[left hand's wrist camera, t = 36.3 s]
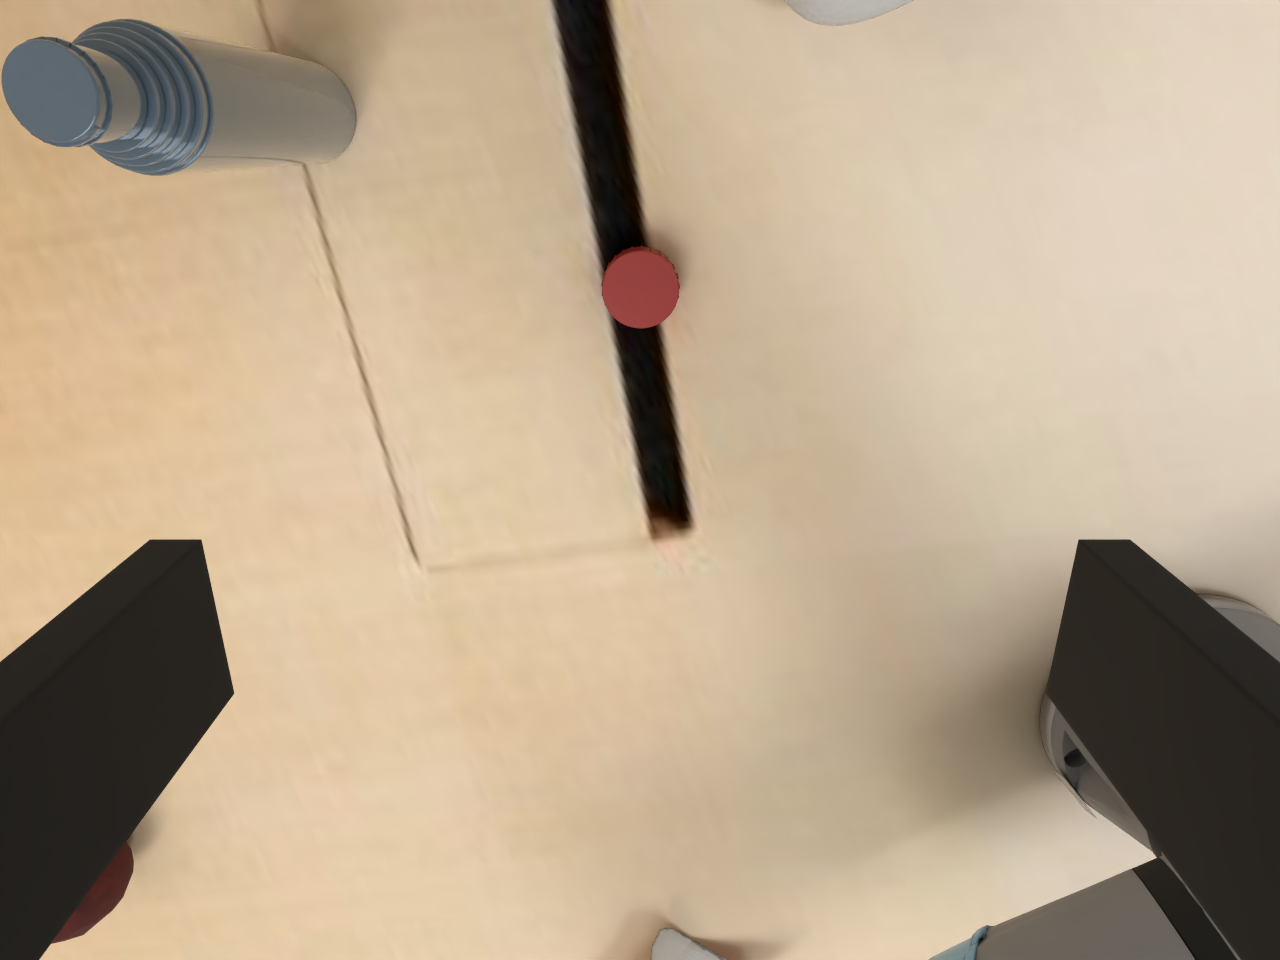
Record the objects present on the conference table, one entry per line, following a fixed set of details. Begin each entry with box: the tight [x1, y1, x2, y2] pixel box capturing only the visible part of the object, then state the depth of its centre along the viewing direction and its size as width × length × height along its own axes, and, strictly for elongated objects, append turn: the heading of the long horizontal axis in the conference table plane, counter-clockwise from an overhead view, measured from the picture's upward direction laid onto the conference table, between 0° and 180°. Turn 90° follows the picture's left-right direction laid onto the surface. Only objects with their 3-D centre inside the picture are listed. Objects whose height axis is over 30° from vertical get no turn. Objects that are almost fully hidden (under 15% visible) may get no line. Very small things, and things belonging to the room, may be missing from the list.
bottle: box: [2, 19, 356, 176], centre depth 31 cm, size 4×4×19 cm
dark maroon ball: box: [51, 842, 134, 944], centre depth 52 cm, size 7×8×7 cm
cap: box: [601, 245, 680, 328], centre depth 42 cm, size 4×4×2 cm
